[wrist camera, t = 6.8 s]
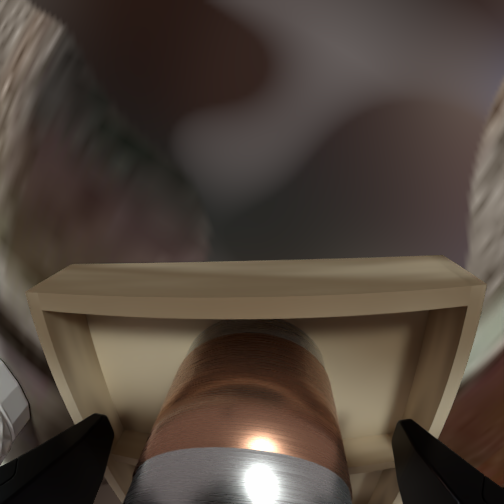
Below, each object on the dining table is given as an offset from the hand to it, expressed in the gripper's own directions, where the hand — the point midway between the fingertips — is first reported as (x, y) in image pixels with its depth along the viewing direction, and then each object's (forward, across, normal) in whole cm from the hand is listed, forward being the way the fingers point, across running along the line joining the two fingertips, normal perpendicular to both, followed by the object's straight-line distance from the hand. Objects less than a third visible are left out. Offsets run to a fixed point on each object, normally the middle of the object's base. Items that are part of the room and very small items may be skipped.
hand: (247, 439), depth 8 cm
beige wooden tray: (+4, 0, +4) cm, 6 cm away
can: (+3, 0, 0) cm, 3 cm away
